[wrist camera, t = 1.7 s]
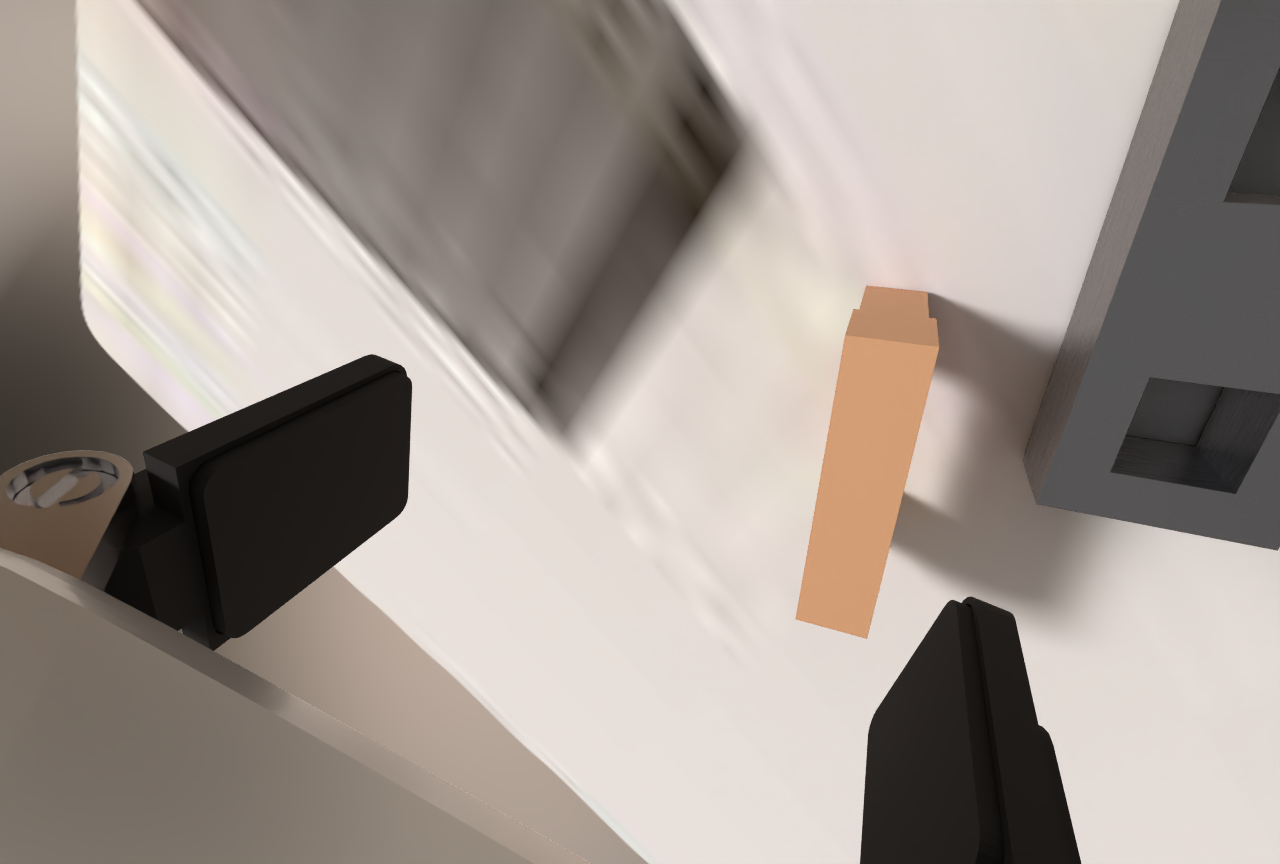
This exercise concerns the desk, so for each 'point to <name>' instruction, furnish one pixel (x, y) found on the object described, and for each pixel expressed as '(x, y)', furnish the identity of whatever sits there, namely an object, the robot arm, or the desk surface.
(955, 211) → the desk surface
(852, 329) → the tan block
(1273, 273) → the dark gray slotted block
